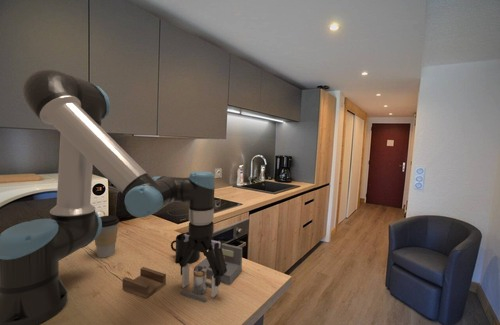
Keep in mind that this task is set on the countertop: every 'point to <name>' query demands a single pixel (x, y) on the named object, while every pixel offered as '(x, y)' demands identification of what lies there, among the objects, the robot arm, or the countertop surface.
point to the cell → (199, 280)
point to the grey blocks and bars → (232, 264)
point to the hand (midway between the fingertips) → (199, 289)
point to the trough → (144, 282)
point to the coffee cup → (107, 236)
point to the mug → (194, 256)
